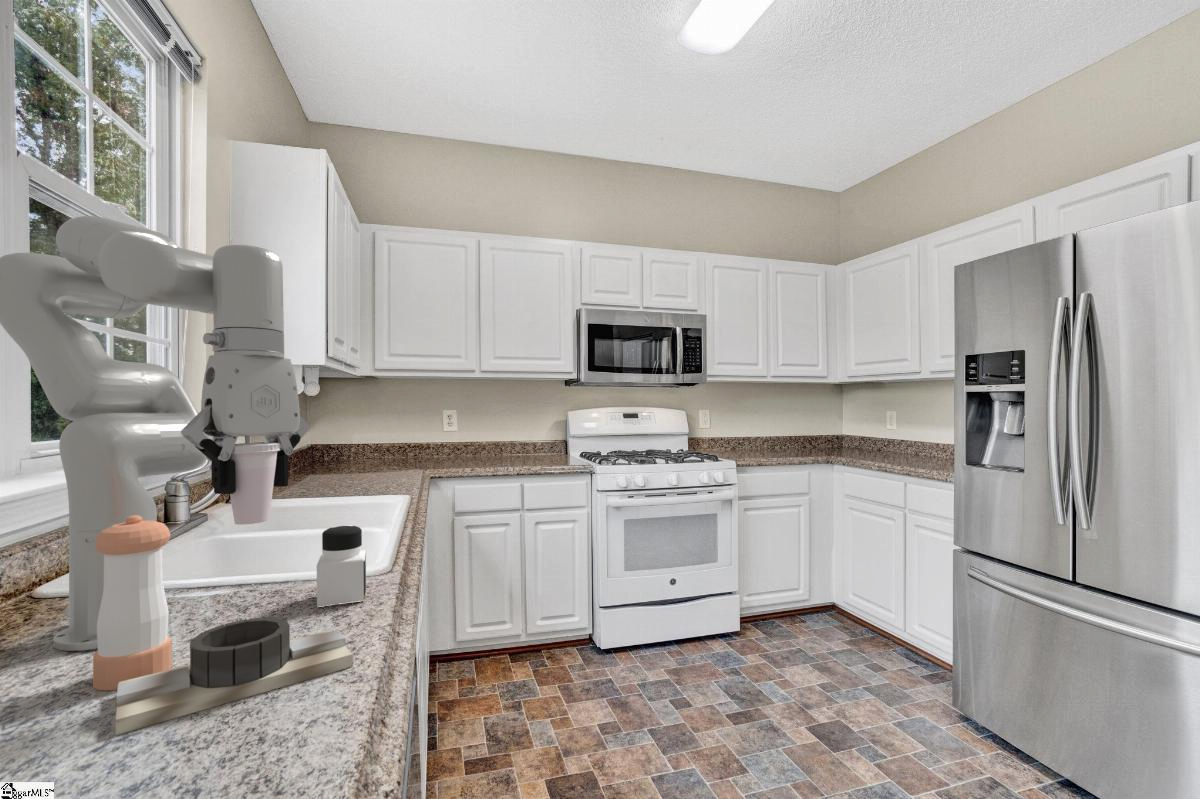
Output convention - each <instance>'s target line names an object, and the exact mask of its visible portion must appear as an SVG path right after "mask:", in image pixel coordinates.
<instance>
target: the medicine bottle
mask: <svg viewBox="0 0 1200 799" xmlns="http://www.w3.org/2000/svg"><path fill="white" fill-rule="evenodd" d="M362 532H363V529H362V528H361V527H360V526H357V525H351V524H348V525H337V526H332V527H329V528H327V529H325V530H324V531H323V532H322V534H321V539H322V540H321V541H322V543H321V545H322V546H321V547H322V548H321V550H322V551H321V552H322V554H320V557H319V558H318V561H317V564H316V607H317V606H323V605H330V604H338V603H345V602H351V601H359V600H364V599H365V600H366V594H367V567H366V566H367V561H366V560H367V552H366V550H365V549H362V548H363V546H362V544H363V541H362V539H363V538H362V537H363V535H362ZM365 593H366V594H365Z"/></svg>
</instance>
